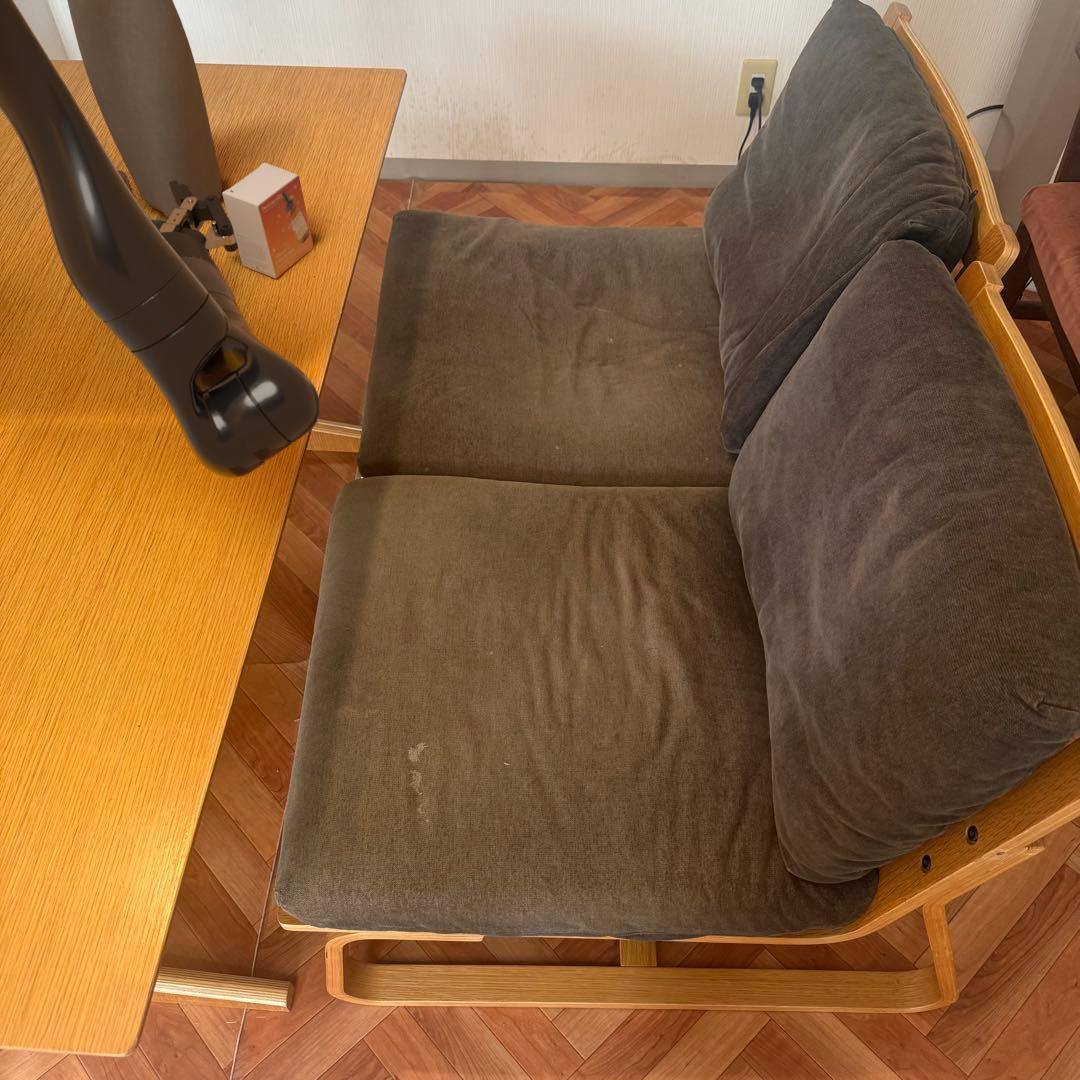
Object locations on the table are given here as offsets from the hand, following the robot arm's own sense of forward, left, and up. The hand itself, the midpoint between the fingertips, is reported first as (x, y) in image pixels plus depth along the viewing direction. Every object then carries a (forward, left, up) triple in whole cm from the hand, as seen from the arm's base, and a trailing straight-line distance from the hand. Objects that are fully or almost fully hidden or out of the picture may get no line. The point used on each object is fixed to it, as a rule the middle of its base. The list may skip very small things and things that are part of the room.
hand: (130, 201), depth 86 cm
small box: (+7, +21, -22) cm, 31 cm away
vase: (-7, +32, -22) cm, 39 cm away
